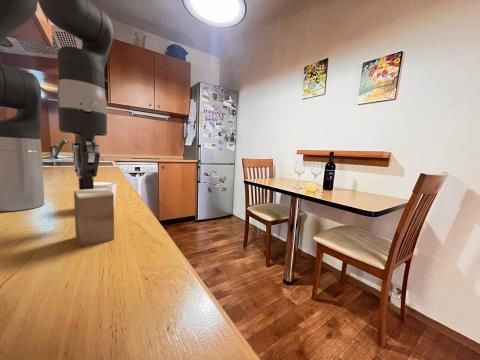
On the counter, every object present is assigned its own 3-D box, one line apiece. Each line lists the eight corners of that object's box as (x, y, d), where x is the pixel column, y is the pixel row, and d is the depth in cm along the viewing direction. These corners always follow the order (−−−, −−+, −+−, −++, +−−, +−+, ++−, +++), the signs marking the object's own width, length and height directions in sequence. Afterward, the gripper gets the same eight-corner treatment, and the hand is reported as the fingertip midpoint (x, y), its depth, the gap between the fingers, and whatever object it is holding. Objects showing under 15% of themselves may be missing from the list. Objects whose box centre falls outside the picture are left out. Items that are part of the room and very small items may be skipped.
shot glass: (101, 213, 50) (100, 186, 49) (78, 210, 52) (77, 183, 51) (122, 206, 57) (122, 182, 56) (102, 203, 58) (101, 180, 57)
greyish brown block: (75, 237, 37) (73, 190, 36) (107, 231, 41) (106, 188, 40) (80, 247, 34) (78, 196, 33) (114, 239, 38) (113, 193, 36)
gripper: (54, 108, 41) (59, 191, 43) (62, 101, 32) (67, 206, 35) (98, 115, 46) (100, 188, 49) (115, 110, 37) (116, 200, 40)
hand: (86, 195), depth 42 cm, fingers closed
